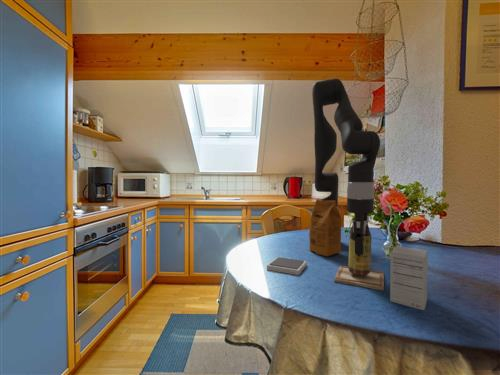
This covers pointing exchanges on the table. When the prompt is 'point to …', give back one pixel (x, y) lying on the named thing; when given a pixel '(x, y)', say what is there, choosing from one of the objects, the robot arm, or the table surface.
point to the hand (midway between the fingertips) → (359, 251)
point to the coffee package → (325, 228)
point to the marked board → (360, 278)
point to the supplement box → (409, 277)
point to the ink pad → (287, 265)
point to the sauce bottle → (360, 262)
